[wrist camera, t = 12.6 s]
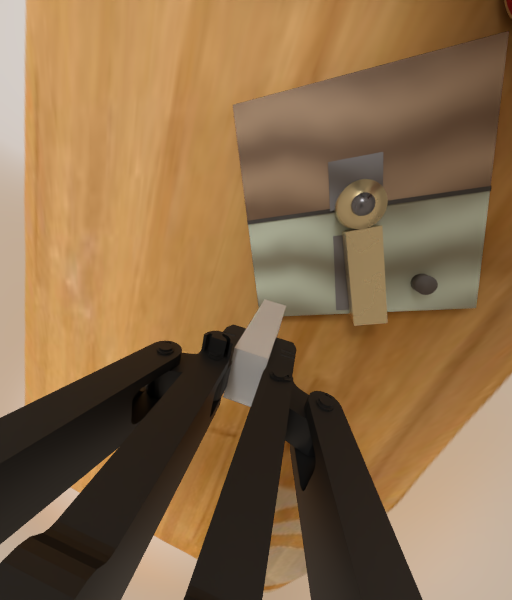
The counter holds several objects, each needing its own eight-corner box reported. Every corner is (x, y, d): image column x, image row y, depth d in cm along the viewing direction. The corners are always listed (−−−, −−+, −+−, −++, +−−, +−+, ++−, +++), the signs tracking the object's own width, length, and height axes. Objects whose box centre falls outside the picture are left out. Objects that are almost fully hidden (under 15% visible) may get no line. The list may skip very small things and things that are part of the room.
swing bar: (332, 189, 24) (335, 183, 20) (377, 180, 23) (389, 171, 19) (345, 315, 27) (349, 329, 23) (384, 311, 26) (396, 325, 22)
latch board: (236, 110, 25) (227, 97, 22) (497, 42, 20) (525, 14, 17) (261, 313, 31) (257, 321, 28) (468, 304, 25) (485, 313, 23)
